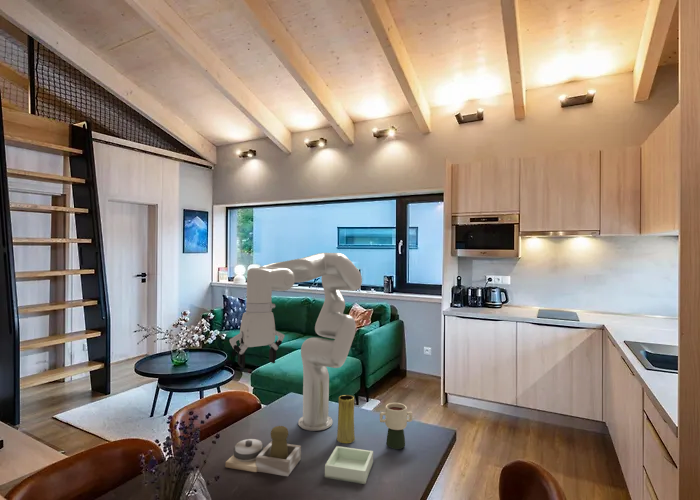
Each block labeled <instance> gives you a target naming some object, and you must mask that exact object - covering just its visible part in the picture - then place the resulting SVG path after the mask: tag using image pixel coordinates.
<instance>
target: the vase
mask: <svg viewBox="0 0 700 500" xmlns="http://www.w3.org/2000/svg"><path fill="white" fill-rule="evenodd" d="M337 407H338V411H337V412H338V413H337V414H338V416H337V430H336V431H337V432H336V433H337V434H336V435H337V436H336V440H337V442H338V443H340V444H348V445H349V444H351V443H353V442H355V440H356V439H355V438H356V437H355V396H353V395H350V394H342V395H340V396H338V406H337Z"/></svg>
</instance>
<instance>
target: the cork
mask: <svg viewBox="0 0 700 500" xmlns="http://www.w3.org/2000/svg"><path fill="white" fill-rule="evenodd" d="M288 436H289V430H288V428H287V427H286V426H283V425H277V426H274V427H273V428H272V429H271V430H270V439H272V440H271V442H272V446H271V453H270V457H273V458H280V459H287V457H288V449H287V444H288V443H287V438H288Z"/></svg>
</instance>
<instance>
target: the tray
mask: <svg viewBox="0 0 700 500" xmlns="http://www.w3.org/2000/svg"><path fill="white" fill-rule="evenodd" d="M373 464H374V450H370V449H369V450H367V449H362V448H361V449H360V448H354V447H348V446H347V447H346V446H339V445H336V446H335V448H334V449H333V451H332V453H331V454H330V456H329V457H328V460H327V461H326V463H325V465H324V478H325V479H331V480H338V481H342V482H343V481H344V482H351V483H354V484H355V483H356V484H361V485H362V484H363V485H366V484H367V480H368V477H369V475H370V472H371V470H372V467H373Z"/></svg>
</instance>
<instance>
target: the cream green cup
mask: <svg viewBox="0 0 700 500" xmlns="http://www.w3.org/2000/svg"><path fill="white" fill-rule="evenodd" d="M384 416H385V419H383V418H384ZM408 416H409V418H408ZM412 421H413V412H412V411H408V408H407V406H406V405H405V404H403V403H401V402H389V403H387V404H386V405H385V411H384V412H383V411H382V412H379V422H380V423H385V425H386V428H387V434H386V443H385V444H386V445H387V447H389V448H391V449H395V450H401V449H403V448H405V446H406V439H405V430H404V429H406V428H407V425H408V423H412Z"/></svg>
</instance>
